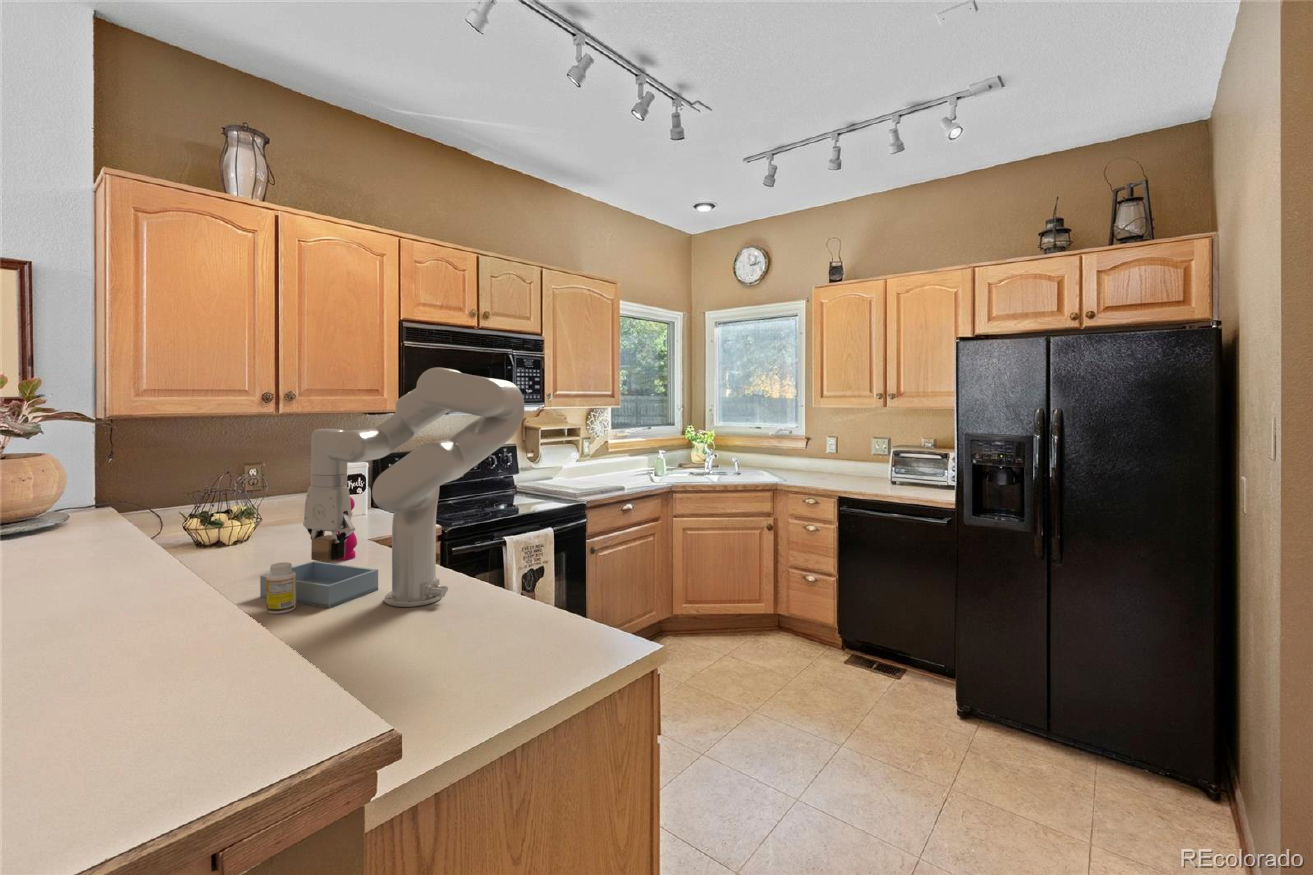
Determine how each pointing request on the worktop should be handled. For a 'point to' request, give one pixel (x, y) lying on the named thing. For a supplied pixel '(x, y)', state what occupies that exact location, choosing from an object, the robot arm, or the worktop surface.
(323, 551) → the walnut cube
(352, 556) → the pepper mill
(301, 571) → the tote
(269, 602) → the supplement bottle
